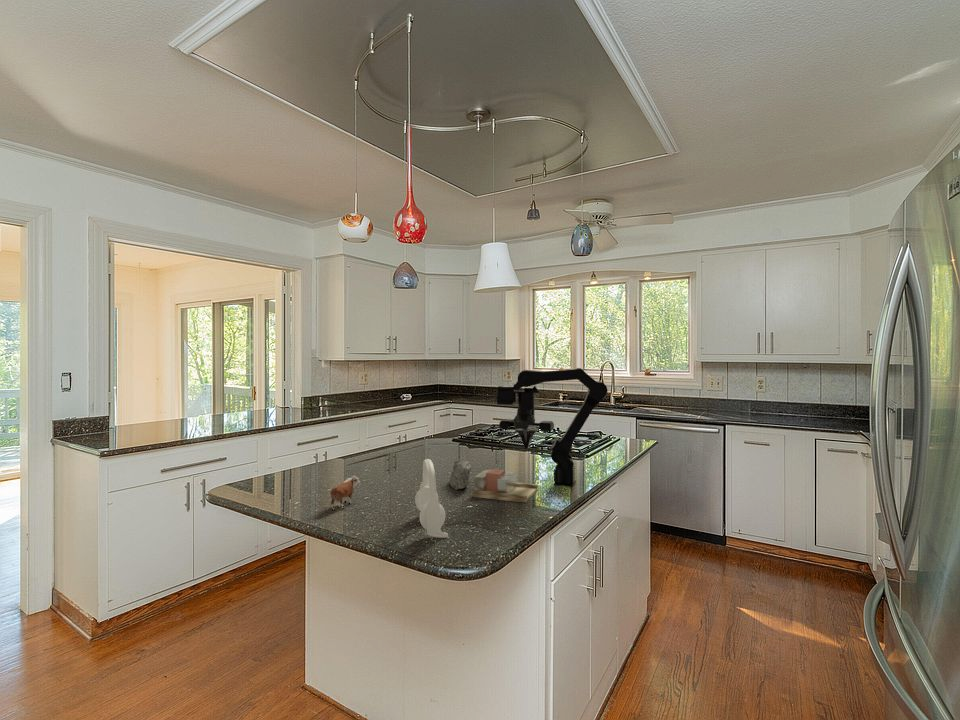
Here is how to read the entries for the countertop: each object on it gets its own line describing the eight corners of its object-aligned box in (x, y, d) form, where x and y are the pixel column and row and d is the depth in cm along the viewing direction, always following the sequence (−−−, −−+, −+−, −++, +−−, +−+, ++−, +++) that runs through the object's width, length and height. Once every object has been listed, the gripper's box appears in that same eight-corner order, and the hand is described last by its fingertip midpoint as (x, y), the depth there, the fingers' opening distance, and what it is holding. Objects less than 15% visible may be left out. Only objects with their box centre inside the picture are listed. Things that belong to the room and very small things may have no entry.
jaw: (515, 486, 169) (515, 472, 169) (506, 495, 160) (506, 479, 160) (507, 486, 170) (507, 471, 170) (497, 494, 161) (497, 479, 161)
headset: (414, 515, 145) (413, 454, 145) (438, 513, 147) (438, 452, 146) (420, 541, 126) (419, 470, 125) (448, 538, 127) (447, 468, 127)
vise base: (537, 490, 168) (537, 472, 168) (526, 502, 155) (525, 483, 155) (487, 485, 175) (487, 468, 175) (472, 496, 162) (472, 478, 162)
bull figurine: (363, 499, 160) (362, 474, 160) (338, 513, 148) (337, 485, 148) (351, 498, 162) (350, 473, 162) (325, 511, 149) (325, 484, 149)
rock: (470, 491, 167) (471, 462, 168) (446, 490, 167) (447, 461, 168) (472, 486, 182) (473, 459, 183) (450, 486, 182) (451, 459, 183)
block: (491, 486, 170) (491, 469, 170) (505, 488, 168) (505, 470, 168) (486, 490, 165) (485, 472, 165) (500, 492, 163) (500, 474, 163)
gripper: (493, 407, 173) (494, 452, 173) (546, 409, 166) (547, 455, 167) (504, 403, 183) (504, 446, 184) (554, 405, 177) (554, 449, 177)
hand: (526, 449), depth 178 cm, fingers closed
